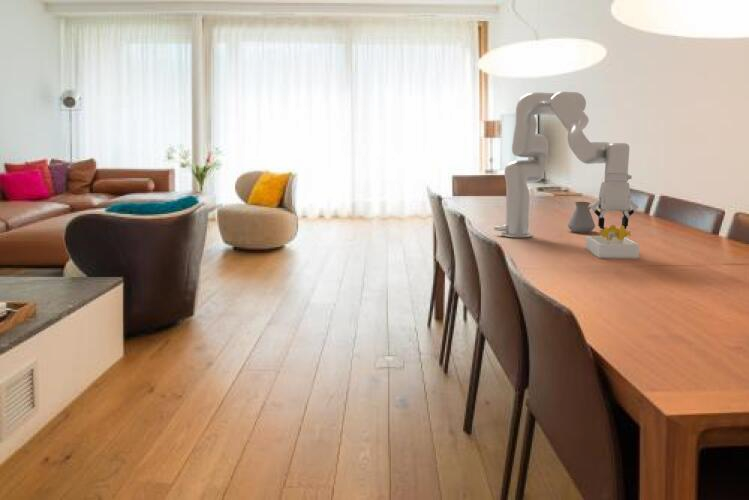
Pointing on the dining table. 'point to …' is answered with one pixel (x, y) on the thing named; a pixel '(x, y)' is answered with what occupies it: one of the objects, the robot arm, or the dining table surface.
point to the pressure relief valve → (614, 233)
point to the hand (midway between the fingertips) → (612, 228)
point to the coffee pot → (581, 219)
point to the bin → (612, 248)
